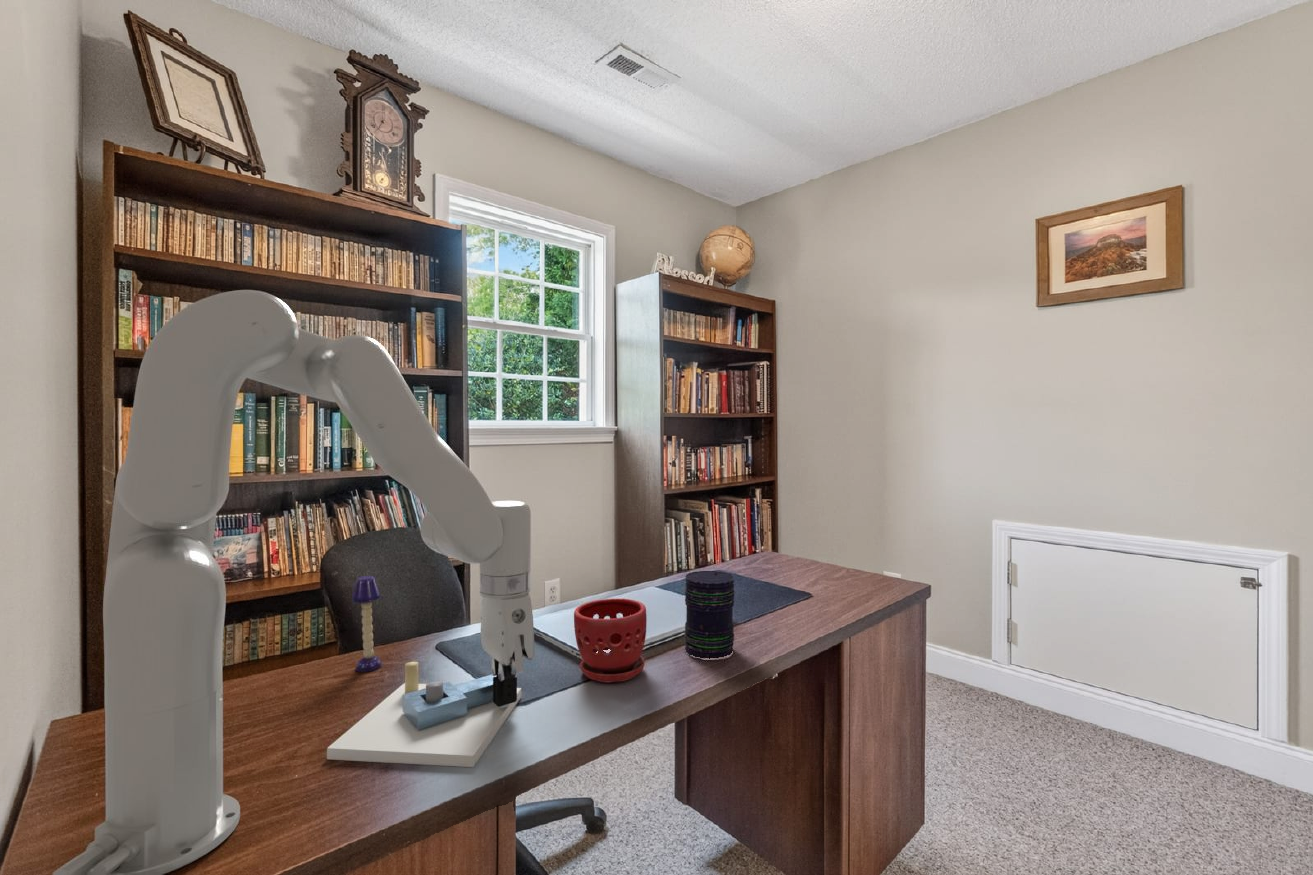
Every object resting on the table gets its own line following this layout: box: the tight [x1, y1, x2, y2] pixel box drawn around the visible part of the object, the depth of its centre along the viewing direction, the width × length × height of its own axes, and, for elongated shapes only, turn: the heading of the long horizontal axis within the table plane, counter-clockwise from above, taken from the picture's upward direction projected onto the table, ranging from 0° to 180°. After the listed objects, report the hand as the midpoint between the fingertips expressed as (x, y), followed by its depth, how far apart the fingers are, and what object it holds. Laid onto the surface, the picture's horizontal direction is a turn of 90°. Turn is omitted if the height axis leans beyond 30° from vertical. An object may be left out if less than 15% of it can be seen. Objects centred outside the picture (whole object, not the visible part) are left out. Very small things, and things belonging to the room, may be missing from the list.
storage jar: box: [684, 570, 735, 659], centre depth 116 cm, size 10×10×15 cm
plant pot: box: [573, 598, 648, 684], centre depth 105 cm, size 13×13×12 cm
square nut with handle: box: [402, 673, 496, 730], centre depth 89 cm, size 16×7×2 cm, turn 130°
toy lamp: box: [351, 575, 382, 673], centre depth 107 cm, size 5×5×17 cm
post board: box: [326, 661, 522, 768], centre depth 86 cm, size 20×20×6 cm
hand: (504, 702), depth 89 cm, fingers closed
